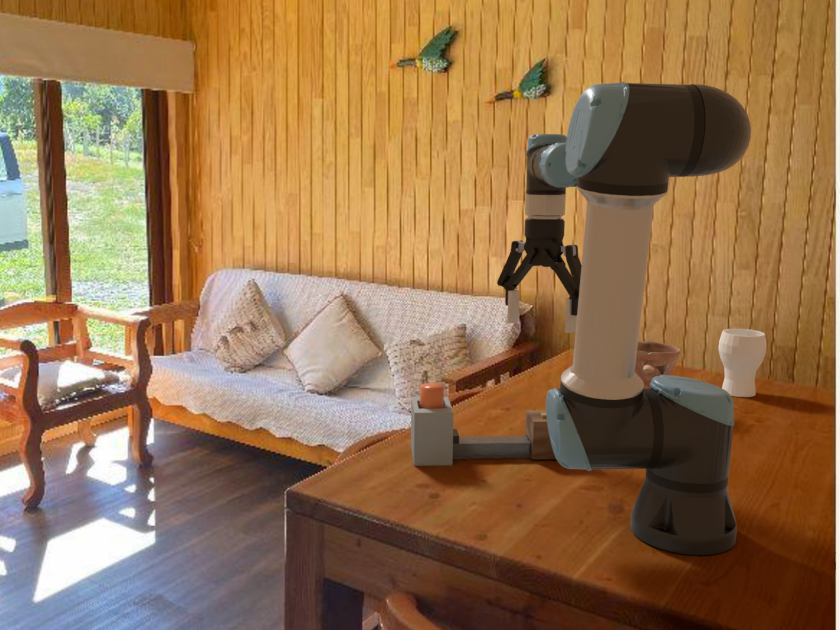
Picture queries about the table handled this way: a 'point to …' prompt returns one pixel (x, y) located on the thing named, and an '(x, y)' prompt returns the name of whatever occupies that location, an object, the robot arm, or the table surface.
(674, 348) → the ceramic jug
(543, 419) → the block
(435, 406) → the button
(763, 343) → the cup
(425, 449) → the grey button housing
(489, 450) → the rail
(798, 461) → the table surface
